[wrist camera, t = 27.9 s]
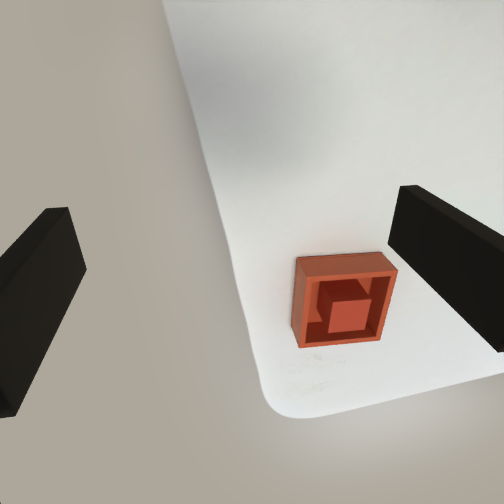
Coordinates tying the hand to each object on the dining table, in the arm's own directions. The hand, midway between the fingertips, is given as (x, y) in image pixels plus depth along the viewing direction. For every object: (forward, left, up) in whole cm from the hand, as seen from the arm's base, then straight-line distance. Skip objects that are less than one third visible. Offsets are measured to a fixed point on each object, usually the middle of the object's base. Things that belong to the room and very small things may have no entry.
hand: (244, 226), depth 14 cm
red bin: (+22, +16, -25) cm, 37 cm away
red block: (+22, +16, -24) cm, 36 cm away
